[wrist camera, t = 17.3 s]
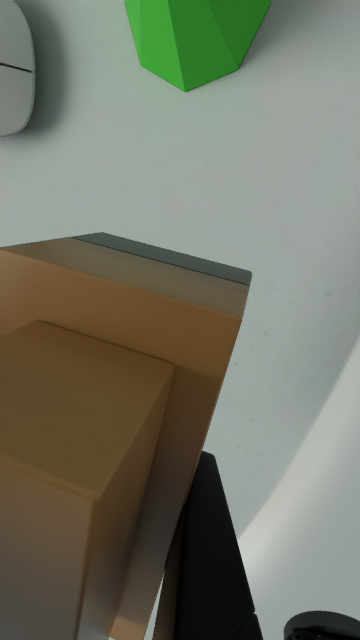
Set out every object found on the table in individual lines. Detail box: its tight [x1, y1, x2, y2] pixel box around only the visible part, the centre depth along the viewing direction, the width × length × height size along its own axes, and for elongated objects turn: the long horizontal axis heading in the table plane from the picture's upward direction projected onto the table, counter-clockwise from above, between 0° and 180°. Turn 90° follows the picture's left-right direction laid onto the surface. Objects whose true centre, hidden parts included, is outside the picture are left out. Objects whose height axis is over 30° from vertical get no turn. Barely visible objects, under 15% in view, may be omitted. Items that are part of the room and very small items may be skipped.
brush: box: [0, 232, 252, 640], centre depth 7 cm, size 9×4×6 cm, turn 168°
